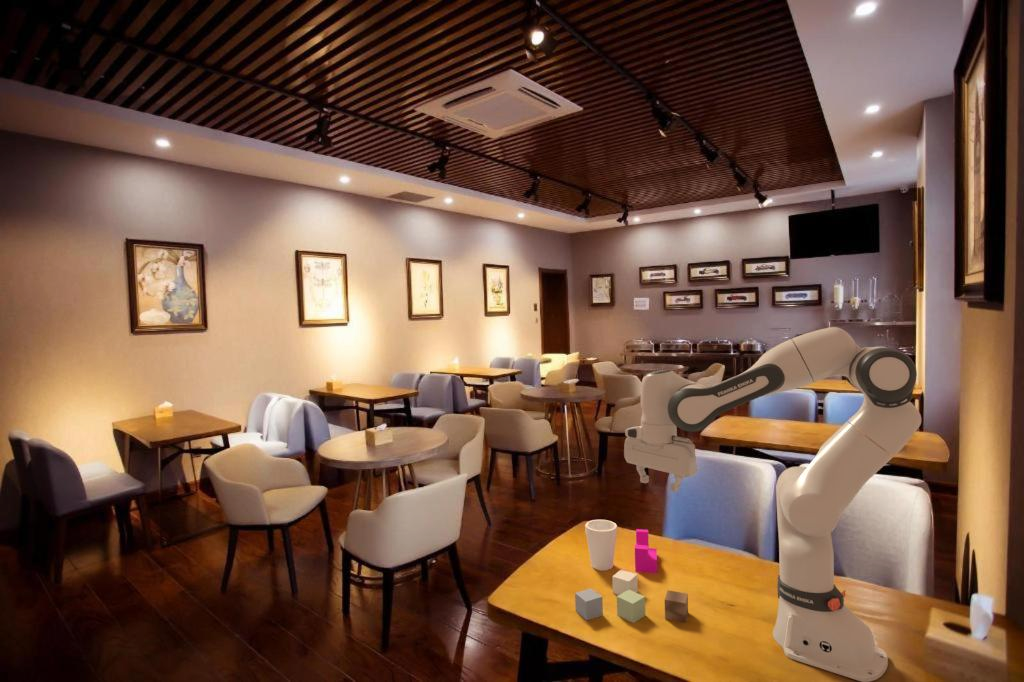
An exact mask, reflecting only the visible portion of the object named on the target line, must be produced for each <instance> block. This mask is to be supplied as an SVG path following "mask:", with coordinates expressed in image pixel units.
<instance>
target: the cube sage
mask: <svg viewBox="0 0 1024 682" xmlns="http://www.w3.org/2000/svg"><path fill="white" fill-rule="evenodd" d="M616 609H617V610H616V613H617V615H616V616H618V617H620V618H622V619H623V620H626V621H628V622H630V623H632V624H635V623H636V622H637V621H639V620H641V619H642V618H644V617H645V616H646V596H645V595H643V594H640V593H638V592H634V591H631V590H627V591H625V592H624V593H622V594H620V595H617V596H616Z"/></svg>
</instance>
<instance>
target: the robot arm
mask: <svg viewBox="0 0 1024 682" xmlns="http://www.w3.org/2000/svg"><path fill="white" fill-rule="evenodd" d="M836 376H841V377H843V378H844V379H845V380H846V381H847V383H849V384H850V385H851V386H852V387H853V388H854V389H855V390H858V391H859V392H860V393H862V394H863V401H862V404H861V406H860V407H859V408H858V411H857V412H855V414H853V415H852V416H851V417H850V418H849V419H847V421H846V422H844V423H843V424H842V425H841V426H840V427H839V428H838V429H837V430H836V431H835V432H834V433H833V434H832V435H831V436H830V437H829V438H828V439H827V440H826V441H825V442H823V443H822V444H821V446H820V447H819V450H818V452H817V453H816V454H815V456H814V458H813V459H812V460H811V461H810V463H809V465H807V467H803V466H791V467H788V468H786V469H785V470H783V471H782V472H781V474H779V476H778V478H777V481H776V486H775V496H776V513H777V514H776V515H777V516H776V517H777V518H776V519H777V532H778V548H779V549H778V552H779V554H778V555H779V557H778V558H779V559H778V560H779V574H778V575H777V584H776V589H777V590H776V591H777V599H778V609H777V616H776V620H775V624H774V627H773V630H772V636H773V639H774V640H775V642H776V643H777V645H779V646H780V647H781V648H782V649H783V652H784V655H785V656H786V657H787V658H789V659H791V660H794V661H797V662H800V663H803V664H806V665H809V666H812V667H816V668H819V669H822V670H825V671H827V672H830V673H834V674H837V675H839V676H843V677H846V678H850V679H853V680H856V681H859V682H873V681H876V680H878V679H879V678H881V677H882V676H883V675H884V674H885V673H886V671H887V668H888V667H889V666H888V665H889V661H888V659H889V658H888V654H887V652H885V650H883V649H882V648H880V647H877V646H876V642H875V639H874V638H875V637H874V634H873V632H872V630H871V628H870V627H869V625H868V624H866V623H865V622H864V621H863V620H861V618H859V617H858V615H856V614H855V613H854V612H853V611H852V610H851V609H849V608H848V607H847V606H846V605H845V600H844V599H845V597H846V590H845V589H844V590H843V591H842V592H841V591H840V590H839V589H838V588H837V586H836V584H835V576H834V575H835V571H834V567H835V565H834V564H835V561H834V557H835V556H834V546H833V540H832V532H833V531H834V530H835V528H836V527H837V525H838V523H839V520H840V518H841V516H842V514H844V512H845V511H846V510H847V508H849V506H850V505H851V503H852V502H853V500H854V499H855V497H856V496H857V495H858V494H859V492H860V491H861V490H862V488H863V486H864V485H865V484H866V483H867V482H868V481H869V480H870V479H872V477H873V476H874V475H876V473H878V471H880V470H881V469H882V468H883V467H884V466H886V464H887V463H889V461H891V460H892V459H893V458H894V457H895V456H896V455H897V454H898V453H899V452H900V451H901V450H903V448H904V447H905V446H906V445H907V444H908V442H909V441H910V440H911V439H912V437H913V436H914V435H915V433H916V432H917V431H918V429H919V427H921V424H922V415H921V413H920V412H919V410H918V409H917V407H916V406H915V405H914V404H913V403H912V402H911V400H912V398H913V392H914V389H915V385H916V382H917V367H916V364H915V362H914V361H913V360H912V358H911V357H910V356H909V355H908V354H906V353H905V352H903V351H902V350H899V349H897V348H894V347H889V346H887V347H886V346H872V347H871V346H869V347H868V346H867V347H866V346H859V345H858V344H856V342H855V340H854V338H853V337H852V335H851V334H850V333H849V332H847V331H846V330H844V329H842V328H840V327H837V326H830V327H826V328H821V329H818V330H813V331H810V332H807V333H804V334H800V335H798V336H795V337H793V338H791V339H788V340H786V341H783V342H781V343H779V344H778V345H775V346H774V347H773V348H770V349H769V350H767V351H766V352H764V353H763V354H762V355H761V356H760V357H759V358H758V360H757V361H756V362H755V363H754V364H752V366H751V367H749V368H748V369H747V370H745V371H743V372H742V373H739V374H738V375H736V376H733V377H730V378H728V379H726V380H723V381H721V382H718V383H716V384H714V385H711V386H707V385H704V384H702V383H698V382H695V381H692V380H690V379H687V378H684V377H683V376H680V375H679V374H677V373H676V372H675V371H673V370H672V369H669V368H668V369H667V368H666V369H659V370H654V371H651V372H647V373H646V374H645V375H643V378H642V379H641V380H642V381H641V385H640V407H641V411H642V412H641V413H642V414H641V418H640V424H638V425H635V426H632V427H628V428H626V429H625V430H624V433H625V434H624V435H625V437H626V438H625V440H624V443H623V444H624V446H623V447H624V449H623V456H624V459H625V461H626V463H627V464H631V465H636V471H637V473H638V475H639V476H640V477H639V481H640V483H643V484H647V483H649V482H650V479H649V478H650V475H647V472H646V470H645V469H646V468H648V469H651V470H656V471H658V472H659V471H660V472H663V473H667V474H671V475H673V479H675V480H674V482H673V483H670V484H669V485H670V491H671V492H674V493H677V492H680V484H681V483H682V482H683V479H684V478H691V477H694V476H695V475H696V474H697V472H698V463H697V458H696V457H697V455H696V445H695V443H693V442H692V440H691V439H690V438H687V437H681V436H678V432H677V431H678V429H680V430H682V431H685V432H691V433H692V432H700V431H702V430H704V429H705V428H707V427H708V426H709V425H710V424H711V423H712V422H713V421H714V419H716V418H717V417H718V416H719V415H721V414H722V413H724V412H727V411H729V410H732V409H734V408H736V407H739V406H741V405H744V404H746V403H748V402H752V401H754V400H756V399H759V398H761V397H765V396H769V395H774V394H777V393H782V392H783V393H784V392H787V391H791V390H795V389H796V390H797V389H799V388H802V387H807V386H809V385H811V384H814V383H817V382H819V381H822V380H824V379H826V378H831V377H836ZM677 428H678V429H677Z"/></svg>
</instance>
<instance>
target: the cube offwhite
mask: <svg viewBox="0 0 1024 682" xmlns="http://www.w3.org/2000/svg"><path fill="white" fill-rule="evenodd" d="M611 580H612V594H613V595H614V594H615V595H617V596H618V595H620V594H622V593H624V592H625V591H627V590H631V591H634V592H636V593H638V590H639V589H638V586H639V585H638V574H637V573H634V572H631V571H627V570H624V569H619V570H618V571H617V572H616V573H615V574H613V575H612V579H611Z"/></svg>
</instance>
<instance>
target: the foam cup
mask: <svg viewBox="0 0 1024 682" xmlns="http://www.w3.org/2000/svg"><path fill="white" fill-rule="evenodd" d="M584 529H585V530H584V531H585V535H586V539H587V545H588V546H587V547H588V548H587V549H588V553H589V559H590V565H591V568H593V569H594V570H597V571H602V572H604V571H609V569H610V570H611V569H613V567H614V563H615V562H614V561H615V560H614V559H615V552H616V541H617V535H618V525H617V523H616V522H613V521H611V520H607V519H592V520H589V521H587V522H586V523H585V525H584Z"/></svg>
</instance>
